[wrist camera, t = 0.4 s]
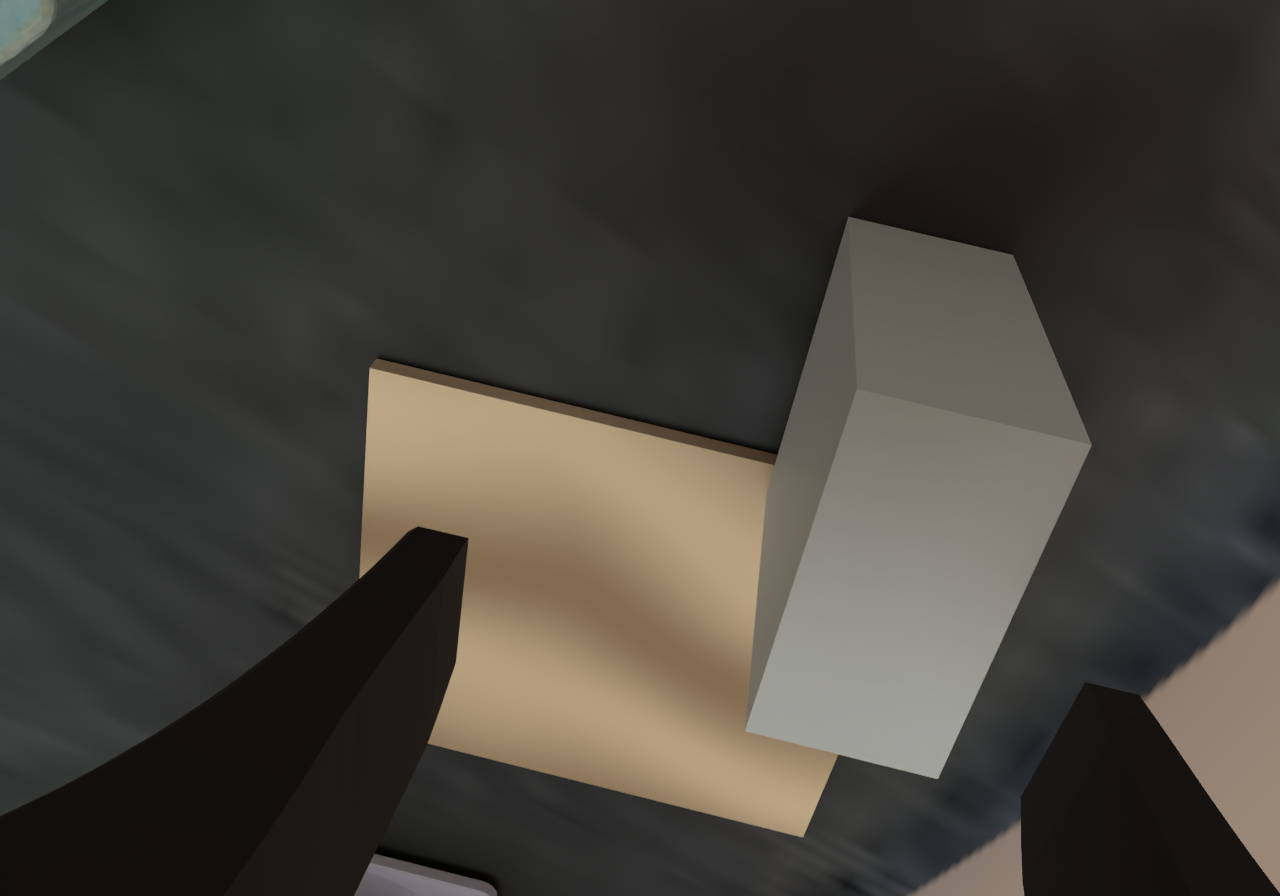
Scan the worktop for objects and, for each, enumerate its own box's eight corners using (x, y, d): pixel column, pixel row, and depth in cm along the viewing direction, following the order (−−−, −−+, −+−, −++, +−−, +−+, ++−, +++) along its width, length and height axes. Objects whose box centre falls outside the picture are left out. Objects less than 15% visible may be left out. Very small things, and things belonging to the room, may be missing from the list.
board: (803, 824, 29) (802, 837, 29) (358, 713, 30) (352, 724, 30) (942, 494, 23) (943, 506, 23) (376, 358, 24) (369, 367, 23)
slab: (909, 527, 23) (937, 779, 17) (766, 492, 23) (744, 730, 17) (1012, 254, 20) (1091, 444, 14) (848, 216, 20) (857, 389, 14)
